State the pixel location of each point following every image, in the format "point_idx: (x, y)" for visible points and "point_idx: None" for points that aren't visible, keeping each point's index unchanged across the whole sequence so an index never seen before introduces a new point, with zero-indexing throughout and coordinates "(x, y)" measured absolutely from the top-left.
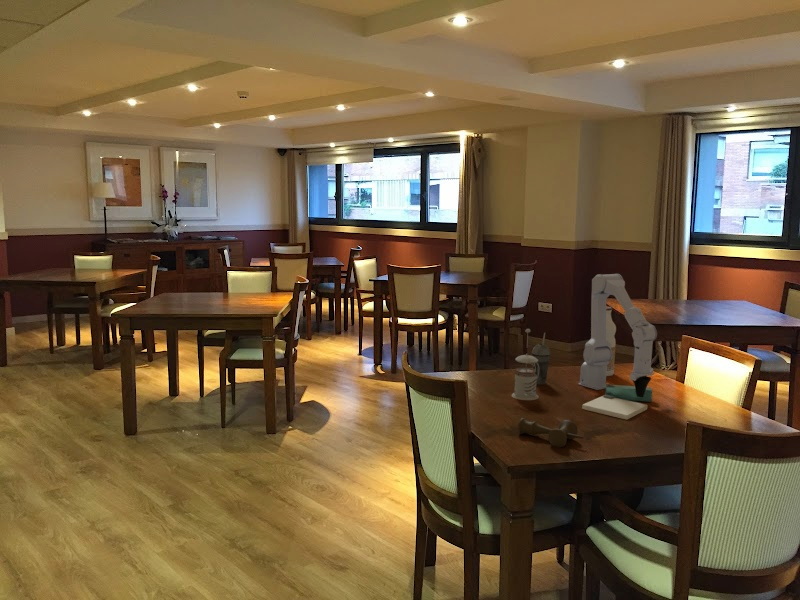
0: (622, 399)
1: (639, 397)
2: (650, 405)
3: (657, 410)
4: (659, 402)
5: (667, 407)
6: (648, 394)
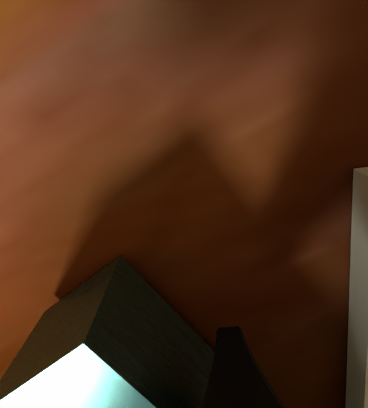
0: (364, 406)
1: (193, 354)
2: (200, 216)
3: (312, 75)
4: (34, 216)
5: (112, 68)
6: (130, 328)
